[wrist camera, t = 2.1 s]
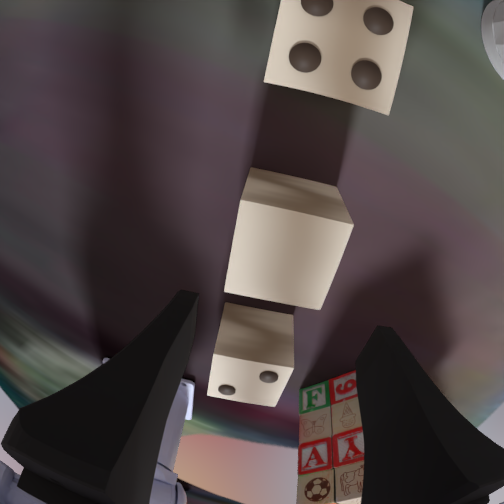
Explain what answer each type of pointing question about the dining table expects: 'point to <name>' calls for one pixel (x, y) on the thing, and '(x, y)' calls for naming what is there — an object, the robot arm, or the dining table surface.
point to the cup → (494, 34)
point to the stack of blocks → (330, 443)
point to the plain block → (287, 239)
